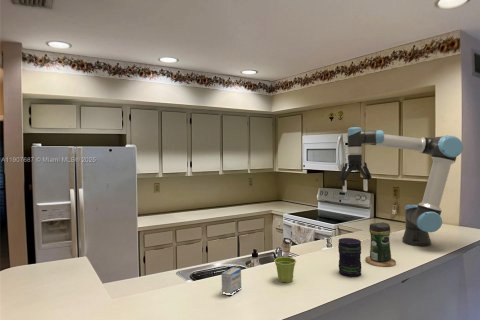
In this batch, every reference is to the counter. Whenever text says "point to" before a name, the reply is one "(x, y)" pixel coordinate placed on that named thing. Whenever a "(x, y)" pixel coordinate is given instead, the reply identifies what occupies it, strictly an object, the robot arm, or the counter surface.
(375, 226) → the coffee jar
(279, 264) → the plant pot
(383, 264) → the plate
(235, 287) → the medicine box
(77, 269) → the counter surface
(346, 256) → the storage jar
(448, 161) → the robot arm
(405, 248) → the counter surface
